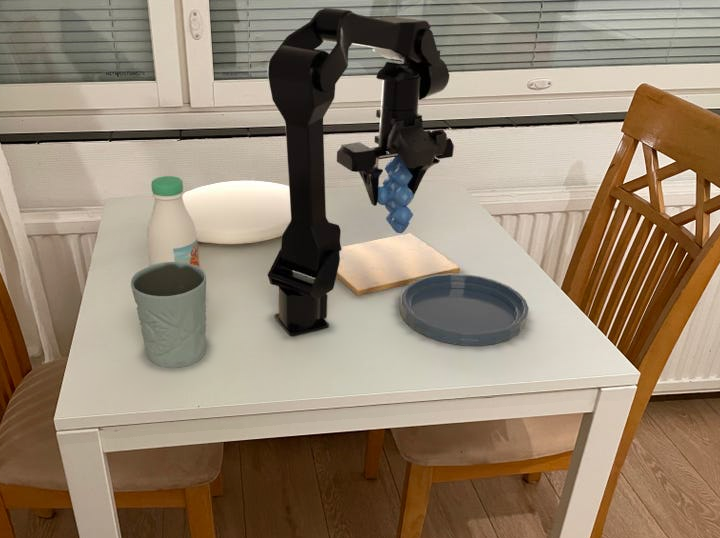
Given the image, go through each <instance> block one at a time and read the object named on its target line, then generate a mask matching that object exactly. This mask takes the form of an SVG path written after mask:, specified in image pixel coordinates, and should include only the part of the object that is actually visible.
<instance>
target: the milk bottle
mask: <svg viewBox="0 0 720 538" xmlns="http://www.w3.org/2000/svg"><path fill="white" fill-rule="evenodd" d="M150 185H151V191H152V194H151V195H152V197H153V198H154V204H153V208H152V212H151V215H150V218H149V221H148V225H147V230H146V239H147V252H148V253H147V254H148V262H149V266H151V265H154V264H159V263H165V262H182V263H188V264H192V265H195V266H197V267H199V268H201V266H200V254H199V242H198V241H197V233H196V229H195V225H194V222H193V220H192V218H191V216H190V215H189V213H188V211H187V209H186V207H185V205H184V202H183V199H182V196H183V194H184V193H185V192H184V183H183V179H181V178H180V177H178V176H173V175H166V176H165V175H164V176H159V177H156V178H154V179H152V180H151V183H150Z"/></svg>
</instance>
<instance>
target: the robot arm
mask: <svg viewBox="0 0 720 538" xmlns="http://www.w3.org/2000/svg"><path fill="white" fill-rule="evenodd" d="M323 42H327V43H332V44H333V43H334V44H335V45H334V47H333V48H332V50H331V51H330V52H327V51H326V50H322V49H321V50H320V49H317V48H319V47H320V46H321V45H322V44H323ZM352 45H355V46H362V47H368V48H371V49H372V51H373V52H374V53H375V54H377V55H379V56H380V57H381V58H385V59H388V60H389V61H386V62H385V64H384V65H383V67H382V68H381V69H380V70H379V71H378V72H377V74H376V77H375V78H376V79H377V80H381V81H382V85H381V87H382V88H381V101H380V109H376V111H375V117H376V118H378V119H379V129H378V130H379V132H378V135H375V136H374V143H375V144H376V145H378V146H375V147H369V146H368V145H366V144H364V143H362V142H361V141H358V142H352V143H343V144H341V145H340V146H339V147H338V149H337V151H336V163H338V164H339V165H341V166H343V167H344V168H346V169H347V170H348V171H350V172H354V173H359V175H360V177H361V179H362V182H363V185H364V187H365V190H366V193H367V195H368V198H369V201H370V204H371V205H372V206H373V207H377V205H378V202H377V201H378V187H379V186H380V176H381V175H382V173H383V172H384V169H383V168H381V167H379V161H380V160H383V159H392V158H394V157H398V156H400V158H401V159H402V160H403V162H404V164H405V166H407V169H408V170H409V171H410V173H411V174H412V178H411V180H410V181H409V183H408V184H407V185H408V186H407V187H408V188H409V189H410V190H411V191H412V193H413V194H414V196H415V195H416V193H417V190H418V189H419V186H420V184H421V182H422V180H423V178H424V176H425V174H426V173H427V171H428V170H429V169H431V167H433V166H434V165H438V164H439V163H440V162H441V160H442V159H448V158H452V157H453V156H454V150H455V144H454V142H453V140H452V138H451V137H448V134H447V133H446V131H445V130H444V129H443V128H442V129H441V128H440V129H435V130H432V131H431V130H424V126H423V122H424V121H423V115H422V114H420V113H418V111H419V101H421V100H423V99H426V98H429V97H431V96H433V95H436V94H438V93H441V92H443V91H444V89H445V88H446V87H447V86H448V83H449V81H450V73H449V68H448V66H447V64H446V63H445V61H444V60H443V59H441V50H439V49H438V46H437V44H436V41H435V36H434V33H433V31H432V30H431V24H430V23H429V21H427V20H423V19H416V18H407V17H399V16H383V17H380V18H375V17H372V16H371V17H370V16H367V15H363V14H358V13H356V12H353V11H352V10H349V9H342V8H333V7H324V8H322V9H318V11H317V12H316V13H315V14H314V16H313V17H312V18H311V19H310V21H308V22H307V23H305V24H304V25H302V26H301V27H299V28H298V29H295V30H294V31H293V32H291V33H290V34H288V35H287V36H286V37H285V39H284V40H283V41H282V43H281V44H280V45H279V46H278V48H277V49H276V51H275V52H274V53H273V55H272V56H271V57H270V59H269V62H268V65H267V80H268V84H269V89H270V95H271V99H272V102H273V103H274V105H275V107H276V108H277V110H278V112H279V113H280V115H281V117H282V118H283V120H284V123H285V141H286V154H287V156H286V158H287V172H288V173H287V174H288V186H289V192H290V209H291V221H290V223H289V225H288V226H287V228H286V229H285V231H284V233H283V234H282V236H281V240H280V241H281V243H280V249H279V251H278V252H277V255H276V257H275V259H274V261H273V263H272V265H271V267H270V268H269V271H268V272H267V278H268V281H269V284H270V285H272V286H276V287H278V313H275V314H274V319H275V320H276V321H277V322H278V324H279V325H280V326H281V327H282V328H283V329H284V331H285V332H286V333H287V334H288V335H289V336H290V337H295V336H300V335H303V334H304V335H305V334H308V333H312V332H316V331H317V332H318V331H320V330H324V329H328V328H329V327H330V324H329V322H328V320H326V319H327V317H328V294H329V293H330V292H331V291H333V290H334V288H335V285H336V284H335V283H336V279H337V277H336V276H337V271H338V267H339V263H340V253H339V251H341V250H342V248H341V247H342V246H341V233H342V232H341V227H340V225H339V224H337V223H333V222H330V221H329V220H328V218H327V211H326V209H327V208H326V207H327V206H326V205H327V204H326V179H325V178H326V175H325V171H326V170H325V139H324V137H325V136H324V117H325V115H326V114H327V112H328V110H329V108H330V107H331V105H332V103H333V101H334V99H335V98H336V97H335V96H336V84H337V82H338V81H339V80H340V79H341V78H342V76H343V74H344V73H345V71H346V70H347V69H348V65H349V49H350V47H351V46H352Z"/></svg>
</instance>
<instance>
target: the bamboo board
mask: <svg viewBox="0 0 720 538" xmlns="http://www.w3.org/2000/svg"><path fill="white" fill-rule="evenodd" d="M341 248H342V250H341V251H339V253H340V263H339V267H338V271H337V276H336V279H338V280H339V281H341V282H342V284H343V285H345V286H346V287H347V288H348V289H349V290H350V291H351V292H353V293H354V294H355V295H356V296H357V297H358V296H363V295H368V294H371V293H376V292H381V291H385V290H389V289H390V290H391V289H393V288H398V287H402V286H408V285H409V284H411V283H412V282H414V281H416V280H418V279H421V278H423V277H428V276H432V275H437V274H449V273H450V274H451V273H453V274H460V271H461V267H460V266H458V264H456V263H455V262H453V261H452V260H451V259H449V258H448V257H446V256H444V255H443V254H441V253H440V252H438V251H437V250H436V249H434V248H433V247H431V246H430V245H428V244H427V243H425V242H424V241H422V240H421V239H419V238H418V237H417V236H416V235H414V234H413V233H411V232H408V233H402V234H398V235H393V236H389V237H383V238H378V239H374V240H368V241H364V242H359V243H354V244H348V245H343V246H341Z"/></svg>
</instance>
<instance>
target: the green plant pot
mask: <svg viewBox="0 0 720 538" xmlns="http://www.w3.org/2000/svg"><path fill="white" fill-rule="evenodd" d="M130 287H131V291H132V295H133V299H134V302H135V304H136V305H137V307H136V311H137V316H138V320H139V325H140V327H141V333H142V338H143V343H144V348H145V352H146V353H145V354H146V356H147V358H148V360H149V361H150V362H151V363H152V364H154V365H157V366H159V367H163V368H168V369H169V368H173V369H174V368H183V367H188V366H190V365H194V364H195V363H197V362H199V361H200V360H202V358H203V357H204V356H205V354H206V353H207V352H206V351H207V337H206V333H207V322H206V321H207V304H206V303H207V302H206V300H207V274H206V272H205V271H204V270H203V269H202V268H201V267H200V268H199V267H197V266H195V265H192V264H188V263H182V262H165V263H159V264H154V265H151V266H150V265H149V266H146V267H145V268H142V269H141V270H139V271H137V272H136V273H134V275H133V276H132V277H131V280H130Z"/></svg>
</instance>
